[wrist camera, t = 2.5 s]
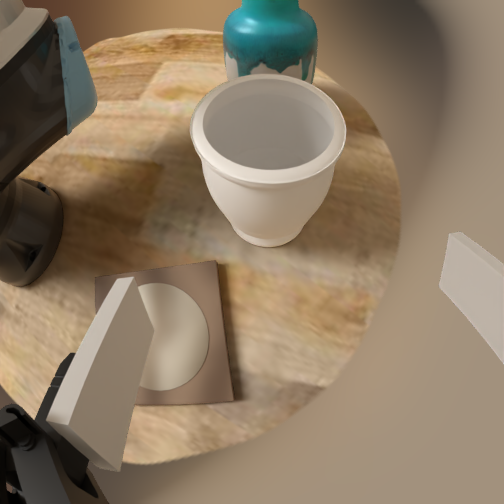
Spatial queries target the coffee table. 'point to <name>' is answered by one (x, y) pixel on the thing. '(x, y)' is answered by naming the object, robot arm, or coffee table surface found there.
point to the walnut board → (181, 334)
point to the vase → (270, 40)
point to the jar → (268, 153)
